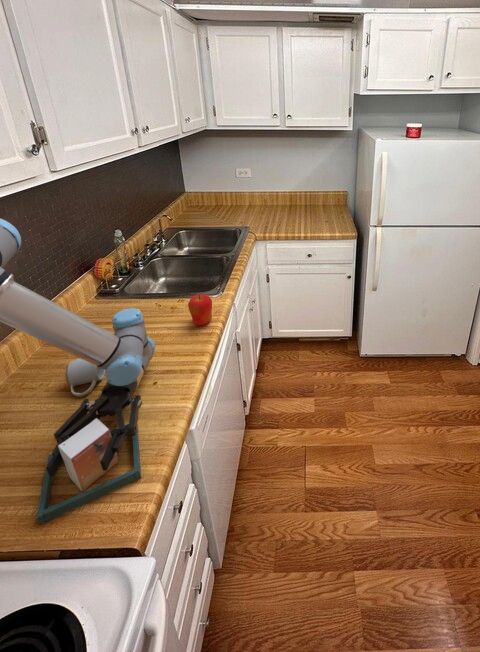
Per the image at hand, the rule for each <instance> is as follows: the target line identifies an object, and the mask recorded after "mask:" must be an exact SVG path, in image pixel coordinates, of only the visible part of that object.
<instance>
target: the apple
mask: <svg viewBox="0 0 480 652" xmlns="http://www.w3.org/2000/svg"><path fill="white" fill-rule="evenodd" d="M187 308H188V311H189V313H190V316H191V321H192V322H193V324H195V325H197V326H205V325H207V324H209V323H210V322H211V321H212V318H213V314H212V313H213V300H212V298H211V296H209V295H208V294H202V293H200V294H196V295H193V296H192V297H190V299H189V301H188V303H187ZM208 322H209V323H208ZM206 323H207V324H206ZM204 324H205V325H204Z"/></svg>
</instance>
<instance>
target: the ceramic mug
mask: <svg viewBox="0 0 480 652" xmlns="http://www.w3.org/2000/svg"><path fill="white" fill-rule="evenodd" d="M105 371H106V370H104V369H102V368H100V367H98V366H96V365H94V364H92V363H89V362H87V361H85V360H83V359H81V358H79V357H78V358H76V359H73V360H71V361H70V362H68V363H67V365H66V367H65V371H64V372H65V374H64V375H65V380H66V383H67V385H69V386H70V391H71V393H72V395H73V396H75V397H84V396H87V395H89V394H90V393H92V391H93V390H94V389H95V386H96V384H97V382H99V381H103V378H104V376H105ZM90 383H91V385H90V386H89V388H88V389H87V390H85V391H83V392H75V386H81V385H84V384H90Z"/></svg>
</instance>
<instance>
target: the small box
mask: <svg viewBox="0 0 480 652" xmlns="http://www.w3.org/2000/svg"><path fill="white" fill-rule="evenodd" d="M110 431H111V430H110V429H109V427H107V426H106V425H105V424H104V423H103V422H102V421H101V420H100V419H99V420H98V419H97V418H96V419H95V420H93V421H92V422H91V423H90V424H88V425H87V426H85V427H84V428H83V429H81V430H80V431H78V432H77V433H76V434H74V435H73V436H72V437H70V438H69V439H67V440H66V441H64V442H63V443H61V444H60V445H58V448H59V451H60V453H61V456H62V458H63V461H62V462H63V464H64V465H65V469H66V471H67V474H68V477H69V479H70V480H71V481H72V482H73V483H74V485H75V486H76V487H77V488H78V489H79V490H80V491H81V493H83V492H85V491H87V489H88V488H89V487H90V486H92V484H94V483H95V482H96V481H97V480H99V479H100V477H102V476H103V475H104V474H105V473H107V472H108V471H109V470H110V469H112V468H113V467H114V466H115V465H116V464H117V463H119V457H118V454H117V453H118V452H115V454H114V456H113V458H112V460H111V462H110V465H109V467H108V469H107V470H105V471H103V469H102V466H101V463H100V461H101V459H102V457H103V455H104V453H105V451H106V449H107V447H108V445H109V443H110V441H111V439H112V437H111V433H110Z"/></svg>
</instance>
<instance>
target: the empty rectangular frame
mask: <svg viewBox="0 0 480 652" xmlns="http://www.w3.org/2000/svg"><path fill="white" fill-rule="evenodd" d="M128 427H129V423H128V424H125V428H128ZM110 433H111V437H113V435H114V433H118V434H119V430H118V427H117V428H114V429H112V430H110ZM139 435H140V434H139V426H138V424H137V431H136V435H135V436H132V451H133V452H132V453H133V469H132V470H130V471H127V472H125V473H123V474H120V475H119V476H117V477H114V478H112V479H110V480H107V481H105V482H103V483H101V484H99V485H96V486H94V487H92V488H90V489H88V490H87V489H86V490H85V491H83V492H81V493H78V494H76V495H74V496H73V497H72V496H71V497H70V498H68V499H65V500H62V501H61V502H59V503H56V504H53V505H52V506H50V501H51V495H52V489H53V483H54V477H55V475H54V476H49V474H48V471H47V469H46V468H45V471H44V476H43V482H42V486H41V492H40V498H39V504H38V507H37V512H36V513H37V514H36V520H37V522H38V524H39V525H42V524H45V523H47V522H49V521H51V520H54V519H55V518H57V517H60V516H62V515H64V514H66V513H69V512H70V511H73V510H75V509H77V508H79V507H81V506H84V505H86V504H87V503H90V502H93V501H94V500H96V499H98V498H100V497H103V496H105V495H108V494H110V493H112V492H113V491H116V490H118V489H120V488H123V487H124V486H127V485H129V484H131V483H133V482H135V481H138V480H140V479H142V468H141V452H140V451H141V450H140V441H139V440H140V437H139ZM52 457H53V455H52V453H50V454H48V455H47V461H46V464H45V465H46V466H47V465H48V463H49V462H50V460H51V459H52ZM46 466H45V467H46Z"/></svg>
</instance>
